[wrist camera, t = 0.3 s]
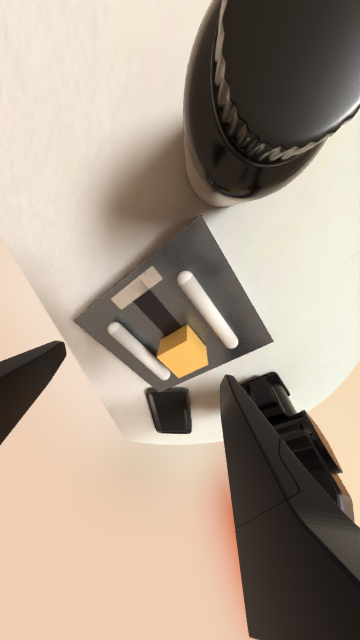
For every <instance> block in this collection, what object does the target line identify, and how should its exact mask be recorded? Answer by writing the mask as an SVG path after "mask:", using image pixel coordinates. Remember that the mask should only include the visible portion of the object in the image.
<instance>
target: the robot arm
mask: <svg viewBox="0 0 360 640" xmlns="http://www.w3.org/2000/svg"><path fill="white" fill-rule="evenodd" d="M65 357H66V349H65V343H64V342H61V341H53V342H50V343H47V344H45V345H42V346H40V347H37V348H34V349H32V350H29V351H27V352H24V353H22V354H19V355H16V356H14V357H11V358H8V359H6V360H3V361H1V362H0V445H1V443H2V442H3V441H4V440H5V438H6V437H7V436H8V435H9V433H10V432H11V431H12V429H13V428H14V427H15V426H16V424H17V423H18V422H19V420H20V419H21V418H22V417H23V415H24V414H25V413H26V411H27V410H28V409H29V408H30V406H31V405H32V404H33V403H34V401H35V400H36V399H37V398H38V396H39V395H40V394H41V393H42V391H43V390H44V389H45V387H46V386H47V385H48V383H49V382H50V381H51V379H52V378H53V376H54V374H55V373H56V371H57V370H58V368H59V367H60V365H61V363H62V362H63V360H64V359H65ZM288 396H290V393H289V391H288V390H287V388H286V386H285V385H284V383H283V382H282V380H281V379H280V377H279V375H278V374H277V373H276V372H274V373H271V374H268V375H266V376H263V377H260V378H258V379H255V380H252V381H250V382H247V383H245V384H242V385H240V384H239V383H238V382H237V380H236V379H235V378H234V377H233V376H231V375H225V376H224V378H223V380H222V382H221V385H220V411H221V422H222V430H223V438H224V446H225V453H226V461H227V469H228V477H229V484H230V492H231V500H232V508H233V516H234V523H235V529H236V530H235V532H236V539H237V548H238V555H239V563H240V571H241V578H242V587H243V594H244V602H245V610H246V618H247V625H248V631H249V636H250V637H251V638H254V639H258V640H360V528H359V527H358V526H357V525H356V524H355V523H354V513H353V504H352V499H351V497H350V495H349V493H348V492H347V490H346V488H345V486H344V485H343V483H342V481H341V480H340V478H339V476H338V473H343V471H342V469H341V467H340V466H339V463H338V461H337V459H336V457H335V455H334V453H333V451H332V449H331V447H330V445H329V443H328V442H327V440H326V439H325V437H324V435H323V434H322V432H321V431H320V429H319V428H318V426H317V425H316V424H315V422H314V421H313V420H312V418H311V417H310V416H309V415H308V413H307V412H306V411H305V410H303V411H301V412H299V413H297V412H296V411H295V409H294V407H293V405H292V403H291V401H290V400H289V398H288Z"/></svg>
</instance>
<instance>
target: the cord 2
mask: <svg viewBox="0 0 360 640" xmlns="http://www.w3.org/2000/svg"><path fill="white" fill-rule="evenodd" d="M177 281H178V284H179V285H180V287H181V288H182V289H183V291H184V292H185V293H186V295H187V296H188V297H189V299H190V300H191V301H192V302H193V304H194V305H195V306H196V308H197V309H198V310H199V312H200V313H201V314H202V316H203V317H204V318H205V320H206V321H207V322H208V324H209V325H210V326H211V327H212V329H213V330H214V331H215V333H216V334H217V335H218V337H219V338H220V339H221V341H222V342H223V343H224V345H225V346H226V347H228V348H230V349H232V348H235V347H236V346H237V345H238V339H237V337H236V336H235V334H234V333H233V331H232V330H231V329H230V327H229V326H228V324H227V323H226V321H225V320H224V319H223V317H222V316H221V314H220V313H219V311H218V310H217V308H216V307H215V306H214V304H213V303H212V301H211V300H210V298H209V297H208V296H207V294H206V293H205V291H204V290H203V288H202V287H201V286H200V284H199V283H198V281H197V280H196V278H195V277H194V276H193V274H192V273H191V272H189V271H182V272H181V273H180V274H179V275H178V278H177Z"/></svg>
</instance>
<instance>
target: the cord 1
mask: <svg viewBox="0 0 360 640" xmlns="http://www.w3.org/2000/svg"><path fill="white" fill-rule="evenodd" d="M108 332H109V334H110V335H111V336H112V337H114V338H115V339H116V340H117V341H118V342H119V343H120V344H122V345H123V346H124V347H125V348H126V349H127V350H128V351H129V352H131V353H132V354H133V355H134V356H135V357H136V358H137V359H139V360H140V361H141V362H142V363H143V364H144V365H145V366H146V367H148V368H149V369H150V370H151V371H152V372H153V373H154V374H156V375H157V376H158V377H159V378H160V379H161V380H167V379H168V378H169V377H170V371H169V370H168V369H167V368H166V367H165V366H164V365H163V364H162V363H161V362H160V361H159V360H158V359H157V358H156V357H155V356H154V355H153V354H151V353H150V352H149V351H148V350H147V349H146V348H145V347H144V346H143V345H142V344H141V343H140V342H139V341H138V340H137V339H136V338H135V337H133V336H132V335H131V334H130V333H129V332H128V331H127V330H126V329H125V328H124V327H123V326H122V325H121V324H119V323H117V322H113V323H111V324H109V326H108Z"/></svg>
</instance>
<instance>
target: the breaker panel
mask: <svg viewBox="0 0 360 640" xmlns="http://www.w3.org/2000/svg"><path fill="white" fill-rule="evenodd" d="M182 271H189V272H191V273H192V274H193V276H194V277H195V278H196V280H197V281H198V283H199V284H200V286H201V287H202V288H203V290H204V291H205V293H206V294H207V296H208V297H209V298H210V300H211V301H212V303H213V304H214V306H215V307H216V308H217V310H218V311H219V313H220V314H221V316H222V317H223V319H224V320H225V321H226V323H227V324H228V326H229V327H230V329H231V330H232V331H233V333H234V334H235V336H236V337H237V339H238V345H237V346H236V347H235V348H232V349H230V348H228V347H226V346H225V345H224V343H223V342H222V341H221V339H220V338H219V337H218V335H217V334H216V333H215V331H214V330H213V329H212V327H211V326H210V325H209V324H208V322H207V321H206V320H205V318H204V317H203V316H202V314H201V313H200V312H199V310H198V309H197V308H196V306H195V305H194V304H193V302H192V301H191V300H190V299H189V297H188V296H187V295H186V293H185V292H184V291H183V289H182V288H181V287H180V285H179V284H178V281H177V278H178V275H179V274H180V273H181V272H182ZM74 322H75V323H76V324H78V325H79V326H80V327H81V328H82V329H84V330H85V331H86V332H87V333H88V334H90V335H91V336H92V337H93V338H94V339H96V340H97V341H98V342H99V343H101V344H102V345H103V346H104V347H105V348H107V349H108V350H109V351H110V352H111V353H113V354H114V355H115V356H116V357H117V358H119V359H120V360H121V361H122V362H123V363H125V364H126V365H127V366H128V367H129V368H131V369H132V370H133V371H134V372H135V373H137V374H138V375H139V376H140V377H141V378H143V379H144V380H145V381H146V382H147V383H149V384H150V385H151V386H152V387H154V388H155V389H156V390H157V391H158V392H162V391H164V390H166V389H168V388H171V387H173V386H175V385H177V384H180V383H182V382H184V381H186V380H189V379H191V378H193V377H195V376H198V375H200V374H202V373H204V372H207V371H209V370H211V369H213V368H216V367H218V366H220V365H222V364H225V363H227V362H229V361H231V360H234V359H236V358H238V357H240V356H243V355H245V354H247V353H249V352H252V351H254V350H256V349H258V348H261V347H263V346H265V345H267V344H270V343H272V342H274V341H273V339H272V338H271V336H270V334H269V332H268V331H267V329H266V327H265V325H264V324H263V322H262V320H261V319H260V317H259V315H258V313H257V312H256V310H255V308H254V306H253V305H252V303H251V301H250V299H249V298H248V296H247V294H246V292H245V291H244V289H243V287H242V286H241V284H240V282H239V280H238V279H237V277H236V275H235V273H234V272H233V270H232V268H231V266H230V265H229V263H228V261H227V259H226V258H225V256H224V254H223V253H222V251H221V249H220V247H219V246H218V244H217V242H216V240H215V239H214V237H213V235H212V233H211V232H210V230H209V228H208V226H207V225H206V223H205V221H204V220H203V218H202V216H201V215H199V216H198V217H197V218H195V219H194V220H193V221H192V222H191V223H189V224H188V225H187V226H186V227H185V228H183V229H182V230H181V231H180V232H179V233H178V234H176V235H175V236H174V237H173V238H172V239H170V240H169V241H168V242H167V243H166V244H164V245H163V246H162V247H161V248H160V249H158V250H157V251H156V252H155V253H154V254H152V255H151V256H150V257H149V258H148V259H146V260H145V261H144V262H143V263H142V264H140V265H139V266H138V267H137V268H136V269H134V270H133V271H132V272H131V273H130V274H128V275H127V276H126V277H125V278H124V279H122V280H121V281H120V282H119V283H118V284H116V285H115V286H114V287H113V288H112V289H110V290H109V291H108V292H107V293H106V294H104V295H103V296H102V297H101V298H100V299H99V300H97V301H96V302H95V303H94V304H93V305H91V306H90V307H89V308H88V309H87V310H85V311H84V312H83V313H82V314H81V315H80V316H79V317H77V318H76V319H75V320H74ZM113 322H117V323H119V324H121V325H122V326H123V327H124V328H125V329H126V330H127V331H128V332H129V333H130V334H131V335H132V336H133V337H135V338H136V339H137V340H138V341H139V342H140V343H141V344H142V345H143V346H144V347H145V348H146V349H147V350H148V351H149V352H150V353H151V354H153V355H154V356H155V357H156V358H157V353H158V349H159V345H160V341H161V339H163V338H165V337H166V336H168V335H170V334H172V333H173V332H175V331H177V330H178V329H180V328H182V327H183V326H185V325H187V324H188V326H189V327H190V328H191V329H192V330H193V332H194V333H195V334H196V335H197V336H198V338H199V339H200V340H201V341H202V342H203V344H204V345H205V346H206V350H207V358H208V365H207V366H204V367H202V368H200V369H198V370H196V371H194V372H191V373H189V374H187V375H185V376H183V377H180V378H178V377H177V376H176V375H175V374H174V373H173V372H172V371H171V370H170V369H168V368H167V367H166V366H165V365H164V364H163V363H162V362H161V361H160V360H159V359H158V358H157V359H158V360H159V361H160V362H161V363H162V364H163V365H164V366H165V367H166V368H167V369H168V370H169V371H170V377H169V378H168V379H167V380H161V379H160V378H159V377H158V376H157V375H156V374H154V373H153V372H152V371H151V370H150V369H149V368H148V367H146V366H145V365H144V364H143V363H142V362H141V361H140V360H139V359H137V358H136V357H135V356H134V355H133V354H132V353H131V352H129V351H128V350H127V349H126V348H125V347H124V346H123V345H122V344H120V343H119V342H118V341H117V340H116V339H115V338H114V337H112V336H111V335H110V334H109V332H108V326H109V324H111V323H113Z"/></svg>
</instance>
